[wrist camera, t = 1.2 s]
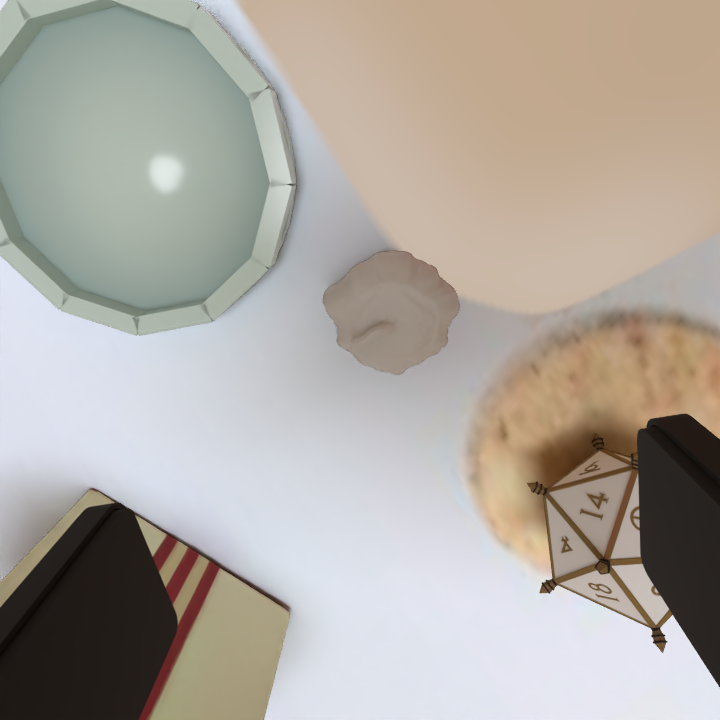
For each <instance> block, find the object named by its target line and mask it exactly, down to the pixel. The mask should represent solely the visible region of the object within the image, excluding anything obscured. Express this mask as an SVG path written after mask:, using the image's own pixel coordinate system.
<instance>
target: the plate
mask: <svg viewBox="0 0 720 720" xmlns="http://www.w3.org/2000/svg"><path fill="white" fill-rule="evenodd" d="M273 90H274V88H273V87H272V86H271V85H270V84H269V82H268V81H267V80H266V78H265V76H264V75H263V73H262V72H261V71H260V69H259V68H258V67H257V65H256V64H255V63H254V61H253V60H252V59H251V57H250V56H249V55H248V54H247V53H246V52H245V50H244V49H243V48H242V47H241V46H240V45H239V44H238V43H237V42H236V41H235V40H234V39H233V38H232V37H231V36H230V35H228V34H227V32H226V31H225V30H224V29H223V28H222V27H221V25H220V24H219V23H218V22H217V21H216V19H215V18H214V17H213V16H212V15H211V14H210V13H209V12H208V11H207V10H205V9H204V8H203V7H202V6H200V5H199V4H198V3H195V2H192V1H190V0H8V1H7V2H6V4H5V5H4V7H3V8H2V10H1V11H0V256H1V257H2V258H3V259H5V260H6V261H7V262H8V263H9V264H10V265H11V266H12V267H13V268H14V269H15V270H16V271H17V272H19V273H20V274H21V275H22V276H23V277H24V278H25V279H26V280H27V281H28V282H29V283H30V284H32V285H33V286H34V287H35V288H36V289H37V290H38V291H39V292H40V293H41V294H42V295H43V296H45V297H46V298H47V299H48V300H49V301H50V302H51V303H52V304H53V305H54V306H55V307H56V308H58V309H61V311H63V312H66V313H69V314H72V315H75V316H78V317H81V318H84V319H87V320H90V321H93V322H96V323H99V324H102V325H106V326H109V327H112V328H115V329H118V330H121V331H124V332H127V333H130V334H133V335H136V336H137V335H138V334H139V336H141V335H146V334H151V333H157V332H162V331H167V330H173V329H178V328H183V327H189V326H194V325H199V324H205V323H210V322H212V321H214V320H216V319H217V318H218V317H219V316H220V315H221V314H222V313H223V312H224V311H225V310H226V309H228V308H229V307H230V306H231V305H232V304H233V303H234V302H235V301H236V300H237V299H239V298H240V297H241V296H242V295H244V294H245V293H246V292H247V291H248V290H250V289H251V288H252V287H253V286H254V285H255V284H256V283H257V281H258V280H259V279H260V278H261V277H262V276H263V275H264V274H265V273H266V272H267V271H268V270H269V269H270V268H271V267H273V266H274V264H275V263H276V259H277V255H278V252H279V250H280V248H281V246H282V244H283V242H284V239H285V236H286V234H287V231H288V228H289V225H290V221H291V216H292V212H293V207H294V199H295V190H296V186H297V185H296V182H297V181H296V177H295V160H294V154H293V148H292V142H291V137H290V134H289V130H288V127H287V124H286V120H285V117H284V114H283V112H282V110H281V107H280V105H279V103H278V99H277V95H276V92H274V91H273Z"/></svg>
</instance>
